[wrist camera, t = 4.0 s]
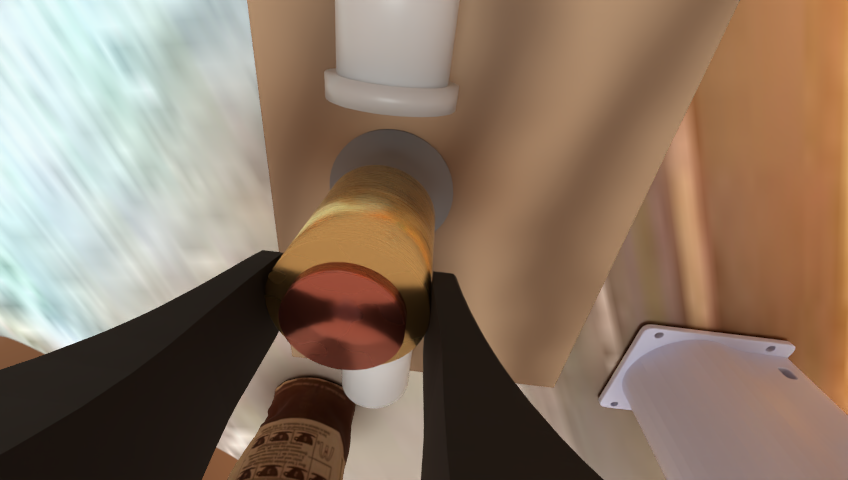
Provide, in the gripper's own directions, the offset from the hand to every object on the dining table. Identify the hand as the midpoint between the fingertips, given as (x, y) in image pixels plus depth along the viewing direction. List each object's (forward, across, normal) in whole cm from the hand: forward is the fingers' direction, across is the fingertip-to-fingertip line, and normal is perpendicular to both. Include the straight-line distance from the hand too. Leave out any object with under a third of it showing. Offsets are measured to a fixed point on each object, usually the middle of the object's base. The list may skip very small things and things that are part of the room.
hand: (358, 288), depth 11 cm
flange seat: (+8, 0, 0) cm, 8 cm away
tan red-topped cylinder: (+4, 0, 0) cm, 4 cm away
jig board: (+8, -3, 0) cm, 9 cm away
